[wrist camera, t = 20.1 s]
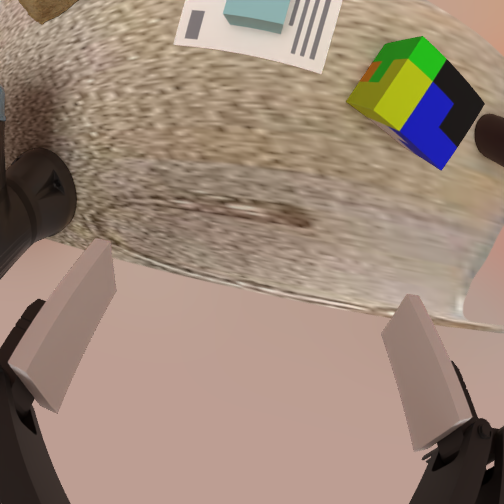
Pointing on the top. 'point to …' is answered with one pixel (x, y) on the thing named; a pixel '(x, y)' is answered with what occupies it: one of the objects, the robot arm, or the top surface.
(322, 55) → the letter
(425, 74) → the puzzle toy
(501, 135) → the wine bottle
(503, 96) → the top surface
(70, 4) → the rock
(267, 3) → the teal cube
